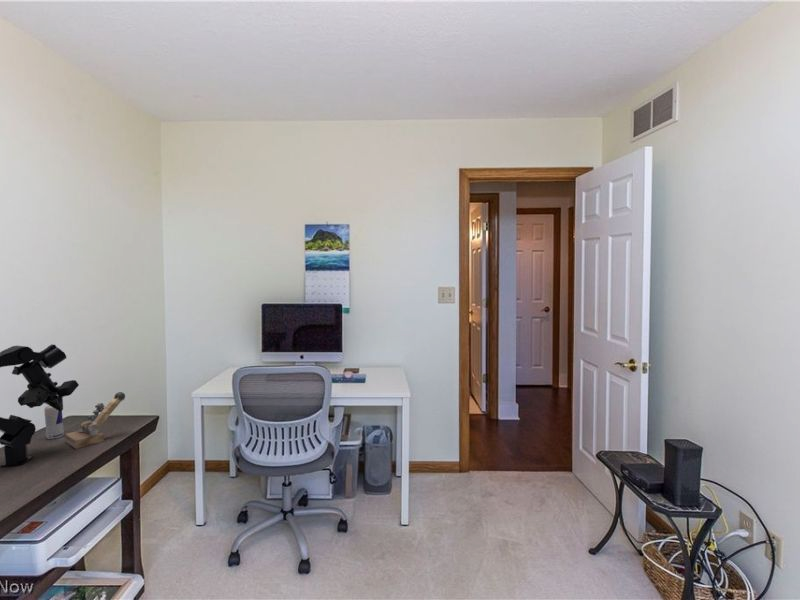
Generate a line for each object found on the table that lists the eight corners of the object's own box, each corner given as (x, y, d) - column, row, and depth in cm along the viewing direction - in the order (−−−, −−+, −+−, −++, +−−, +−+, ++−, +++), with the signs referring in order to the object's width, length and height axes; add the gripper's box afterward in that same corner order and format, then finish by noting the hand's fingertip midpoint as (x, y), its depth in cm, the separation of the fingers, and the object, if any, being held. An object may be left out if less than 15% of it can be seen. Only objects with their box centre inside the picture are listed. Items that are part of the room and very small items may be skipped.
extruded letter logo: (101, 412, 210) (101, 400, 209) (105, 412, 210) (104, 399, 210) (83, 430, 186) (82, 417, 186) (88, 430, 186) (87, 416, 186)
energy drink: (67, 434, 182) (64, 404, 181) (56, 439, 176) (53, 408, 176) (54, 434, 182) (52, 404, 181) (43, 439, 177) (40, 408, 176)
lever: (87, 430, 170) (121, 391, 178) (83, 428, 172) (117, 389, 181) (95, 435, 172) (128, 396, 181) (91, 433, 174) (125, 394, 183)
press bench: (76, 448, 166) (74, 429, 166) (65, 441, 173) (64, 423, 173) (104, 441, 173) (102, 422, 173) (93, 434, 180) (91, 417, 180)
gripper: (-5, 397, 154) (22, 431, 161) (48, 386, 153) (73, 420, 161) (17, 376, 164) (42, 409, 171) (67, 366, 163) (90, 399, 171)
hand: (61, 410), depth 168 cm, fingers closed
